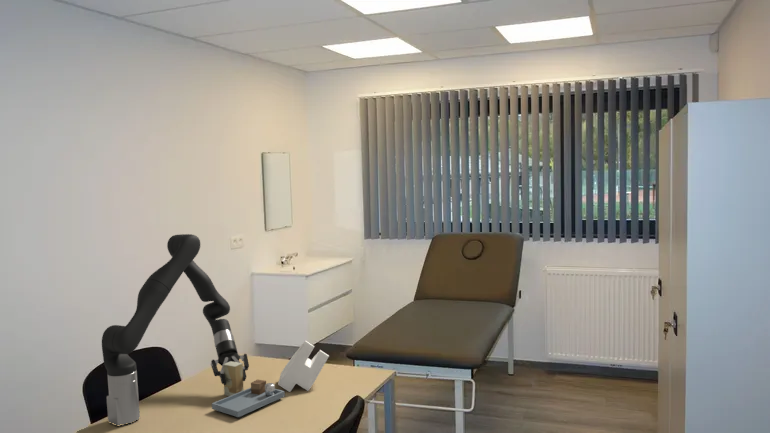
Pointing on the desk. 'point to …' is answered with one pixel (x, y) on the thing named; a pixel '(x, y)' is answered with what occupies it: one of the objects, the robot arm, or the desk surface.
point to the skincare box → (233, 378)
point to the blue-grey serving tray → (245, 402)
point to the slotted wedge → (302, 368)
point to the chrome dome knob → (269, 389)
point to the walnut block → (258, 387)
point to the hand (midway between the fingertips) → (234, 382)
